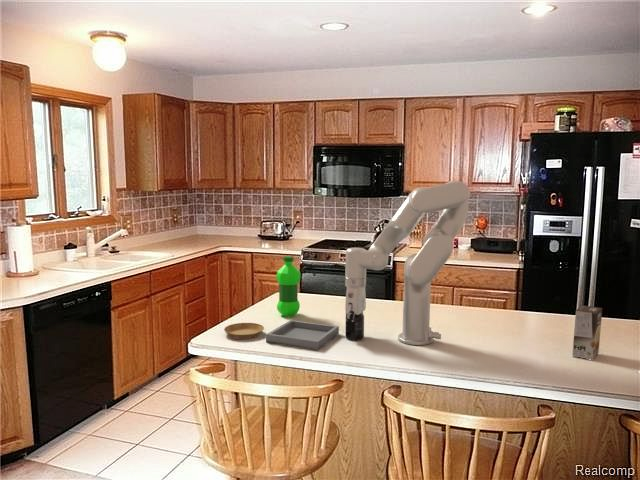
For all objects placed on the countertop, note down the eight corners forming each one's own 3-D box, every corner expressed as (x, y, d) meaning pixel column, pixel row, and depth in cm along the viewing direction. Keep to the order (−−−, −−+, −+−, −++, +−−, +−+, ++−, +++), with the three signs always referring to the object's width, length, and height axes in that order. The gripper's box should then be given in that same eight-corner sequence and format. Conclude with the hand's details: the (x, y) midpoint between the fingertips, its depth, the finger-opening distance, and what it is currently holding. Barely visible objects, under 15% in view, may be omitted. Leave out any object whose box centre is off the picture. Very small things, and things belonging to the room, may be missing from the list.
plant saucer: (256, 342, 187) (256, 335, 187) (217, 339, 190) (217, 332, 190) (269, 330, 201) (269, 324, 201) (232, 328, 204) (232, 321, 204)
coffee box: (592, 361, 171) (596, 313, 169) (571, 356, 175) (575, 309, 173) (599, 354, 178) (602, 307, 176) (578, 349, 182) (582, 304, 180)
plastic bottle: (273, 312, 226) (273, 255, 223) (297, 311, 229) (297, 254, 226) (278, 318, 217) (278, 259, 213) (303, 317, 220) (303, 258, 217)
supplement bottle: (364, 335, 196) (364, 304, 194) (363, 341, 189) (364, 308, 187) (345, 334, 196) (346, 303, 195) (344, 340, 190) (345, 308, 188)
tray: (338, 334, 197) (338, 326, 197) (317, 350, 179) (317, 341, 178) (290, 327, 205) (290, 320, 204) (266, 342, 186) (266, 334, 186)
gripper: (357, 287, 180) (356, 336, 183) (372, 278, 196) (371, 323, 199) (337, 285, 183) (336, 334, 186) (353, 276, 199) (352, 321, 201)
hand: (354, 328), depth 192 cm, fingers open, 8 cm apart
